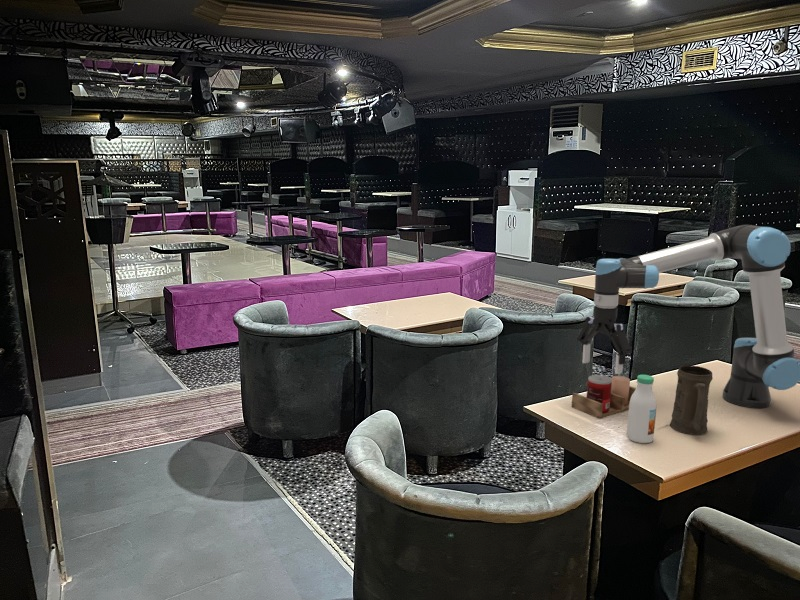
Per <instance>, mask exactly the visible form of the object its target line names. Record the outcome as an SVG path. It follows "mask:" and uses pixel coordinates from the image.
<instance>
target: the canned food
mask: <svg viewBox="0 0 800 600" xmlns="http://www.w3.org/2000/svg"><path fill="white" fill-rule="evenodd" d="M611 386H612V377H609V376H606V375H601V374H592V375H589V376H588V378H587V385H586V387H587V388H586V397H587V398H589V399H592V400H594V401H597V402H599V403H602V404H603V407H602V413H606V412H608V411H609V408H610V397H611Z"/></svg>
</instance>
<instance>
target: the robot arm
mask: <svg viewBox="0 0 800 600" xmlns="http://www.w3.org/2000/svg"><path fill="white" fill-rule="evenodd" d="M791 249H792V248H791V241H790V239H789V237H788V236H787V234H786V233H784V232H783V231H781V230H779V229H776V228H774V227H771V226H761V225H760V226H758V225H753V224H741V225H737V226H734V227H730V228H727V229H723V230H719V231H716V232H713V233H710V234H709V236H708V237H705V238H701V239H698V240H694V241H691V242H686V243H683V244H679V245H675V246H671V247H667V248H663V249H659V250H657V251H652V252H649V253H645V254H642V255H637V256H633V257H630V258H629V257H628V258H623V257H620V258H600V259H598V260H597V261H596V265H595V273H594V274H595V276H594V294H593V295H594V297H593V304H594V306H593V311H592V312H593V313H592V315H591V316H586V318H585V323H584V325H583V326H582V328H581V330H580V332H579V334H578V336H577V341H578V342H580V343H581V353H582V364H588V363H590V357H591V343H590V342H591V340H593V338H594V337H596V335H597V334H598V333H599V334H602V335H604V336H607V337H608V338H609V339H610V341H611V342H612V344H613V346H614V348H615V350H616V352H617V353H616V355H615V364H614V365H615V366H614V367H615V368H614V374H615V375H618V374H623V371H624V370H623V369H624V365H625V362H626V355H630V354H631V353H632V350H631V346H630V342H629V340H628V338H627V334H626V332H625V331H626V329H625V323H617V321H616V320H617V318H618V311H619V310H618V309H619V308H618V306H619V294H620V289H644V290H646V289H655V288H656V287H657V286H658V283H659V280H660V279H659V278H660V273H663V272H664V273H665V272H667V271H671V270H676V269H680V268H683V267H687V266H692V265H695V264H699V263H702V262H706V261H711V260H714V259H715V260H716V261H722V260H729V259H737V260H741V265H742V266H741V267H742V272H743V273H745V274H746V275H748V279H749V285H750V288H749V289H750V296H751V297H750V298H751V304H752V311H753V320H754V321H753V323H754V329H755V337H739V338H737V339H735V341H734V345H733V352H732V353H733V355H732V361H731V362H732V363H731V369H730V377H729V379H728V380H727V383H726V384H725V387H724V388H723V389H722V396H721V397H722V398H723V399H724V400H725V401H726V402H728V403H731V404H733V405H737V406H741V407H745V408H756V409H763V408H764V409H765V408H768V407H770V406H771V405H772V404H771V403H772V395H771V392H770V388H771V389H775V390H777V391H786V390H789V389H792V388H794V387H795V386H796V385H797V384H798V383H800V361H799V360H798V359H797V358H796V357H795V349H794V346H793V344H792V343H790V342H788V335H787V327H786V317H785V316H786V315H785V307H784V299H783V298H784V297H783V288H782V280H781V271H782V270H783V269H784V268H785V267H786V263H785V262H786V261H787V259H788V257H789V256H790V254H791ZM592 326H593V327H592Z"/></svg>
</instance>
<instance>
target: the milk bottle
mask: <svg viewBox="0 0 800 600" xmlns="http://www.w3.org/2000/svg"><path fill="white" fill-rule="evenodd" d="M636 384H637V385H636V387H635V388H636V390H635V391H634V393H633V394H632V396H631V399H630V404H629V410H628V411H627V412H628V413H627V414H628V415H627V423H626V424H627V425H626V438H627V439H628V440H630V441H632V442H635V443H639V444H649V443H652V442H653V441H654V436H655V428H656V427H655V426H656V417H657V416H656V415H657V400H656V396H655V394H654V391H653V385H654V377H653V376H652V375H648V374H639V375H637V377H636Z"/></svg>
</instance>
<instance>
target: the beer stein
mask: <svg viewBox="0 0 800 600" xmlns="http://www.w3.org/2000/svg"><path fill="white" fill-rule="evenodd" d="M676 375H677V384H676V389H675V398H674V403H673V410H672V412H671V413H672V414H671V420H670V424H669V425H670V427H671V428H672V429H674V430H675V431H677V432H679V433H682V434H687V435H693V436H694V435H695V436H696V435H697V436H701V435H705V434H706V433H708V429H709V428H708V422H709V421H708V407H709V393H710V386H711V385H710V384H711V382H712V381H713V372H712V371H711V370H710V369H708V368H705V367H702V366H698V365H681V366H679V367H678V370H677V372H676Z"/></svg>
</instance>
